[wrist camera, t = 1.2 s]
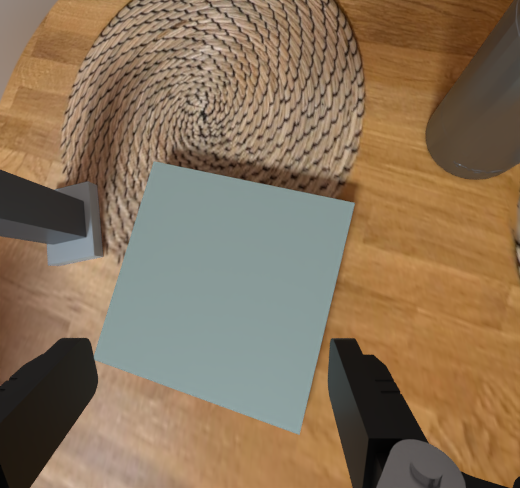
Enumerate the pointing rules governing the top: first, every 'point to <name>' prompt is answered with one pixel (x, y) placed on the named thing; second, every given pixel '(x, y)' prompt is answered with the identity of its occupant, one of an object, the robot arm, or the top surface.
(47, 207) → the grey pillar on base
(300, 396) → the board
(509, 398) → the top surface
